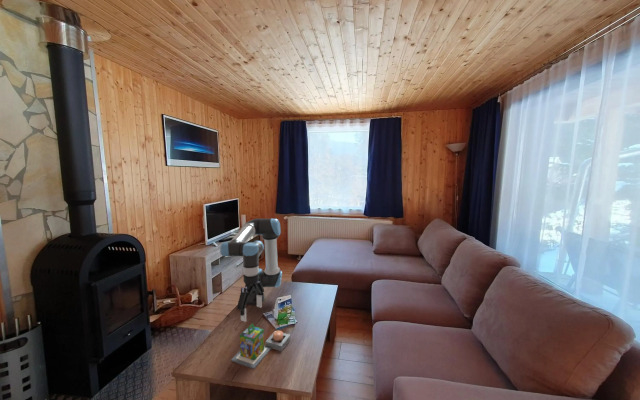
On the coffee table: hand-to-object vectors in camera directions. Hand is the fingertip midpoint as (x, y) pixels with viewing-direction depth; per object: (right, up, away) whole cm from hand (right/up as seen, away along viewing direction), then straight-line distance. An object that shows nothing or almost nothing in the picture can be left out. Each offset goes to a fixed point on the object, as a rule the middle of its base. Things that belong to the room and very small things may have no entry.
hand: (251, 313), depth 125 cm
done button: (+12, -19, +11) cm, 25 cm away
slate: (0, -23, +2) cm, 23 cm away
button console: (+12, -22, +11) cm, 27 cm away
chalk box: (0, -22, +2) cm, 22 cm away
